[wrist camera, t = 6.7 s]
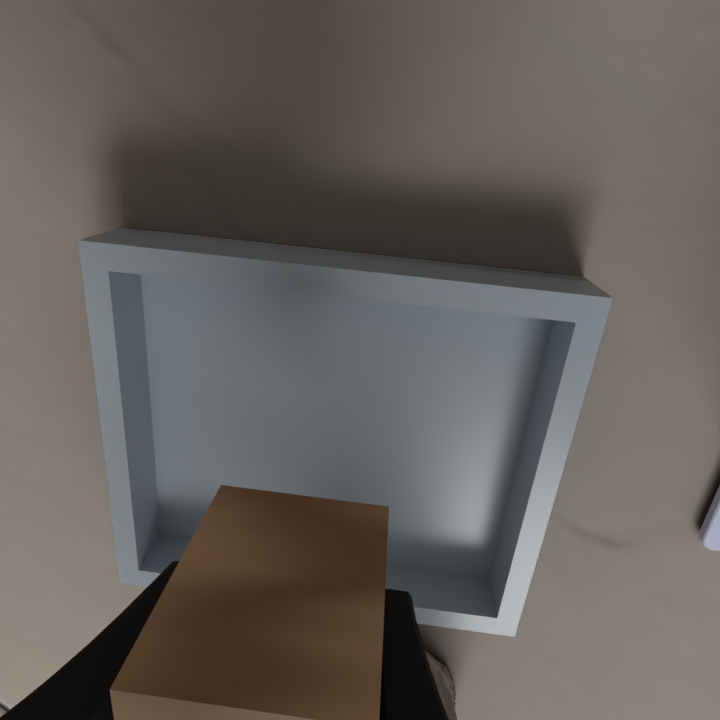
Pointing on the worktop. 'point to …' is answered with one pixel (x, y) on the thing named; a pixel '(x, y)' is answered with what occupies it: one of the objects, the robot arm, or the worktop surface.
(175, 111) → the worktop surface
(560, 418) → the slate tray
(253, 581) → the tan wooden block
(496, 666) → the worktop surface
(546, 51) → the worktop surface
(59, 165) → the worktop surface
